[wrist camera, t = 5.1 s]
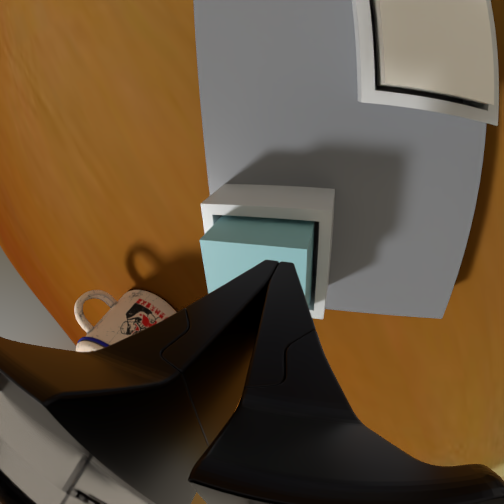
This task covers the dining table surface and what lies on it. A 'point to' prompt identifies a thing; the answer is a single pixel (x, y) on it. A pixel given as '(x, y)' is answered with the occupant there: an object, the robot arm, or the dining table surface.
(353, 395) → the dining table surface
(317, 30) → the grey rectangular board
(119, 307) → the teacup with lid
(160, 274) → the dining table surface
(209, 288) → the teal key
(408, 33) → the cream key
